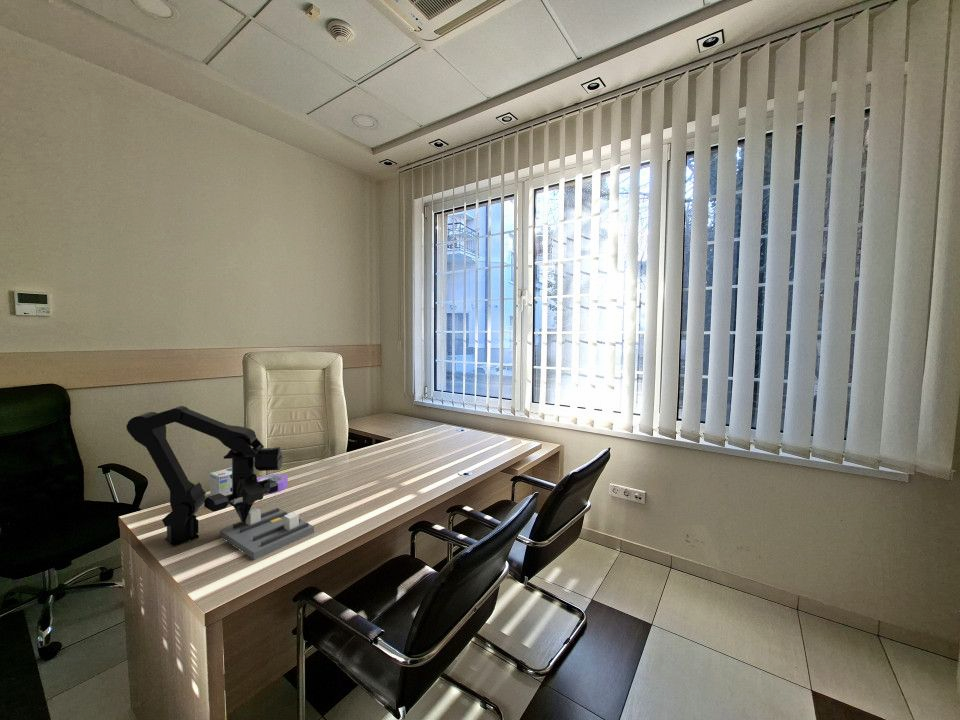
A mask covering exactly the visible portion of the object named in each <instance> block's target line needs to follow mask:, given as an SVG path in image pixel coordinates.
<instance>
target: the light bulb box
mask: <svg viewBox="0 0 960 720" xmlns="http://www.w3.org/2000/svg"><path fill="white" fill-rule="evenodd" d="M231 474H232V466H231V467H228V468H225V469H220V470H217V471H212V472H210V473H209V488H210V489H209V490H210V491H209V493H210V495H209V496H212V495H215V494H219V493H221V494H222V495H224V496H226V495H229V494H232V492H231V491H230V488H232V479H231V478H230V475H231Z"/></svg>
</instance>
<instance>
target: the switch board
mask: <svg viewBox="0 0 960 720" xmlns="http://www.w3.org/2000/svg"><path fill="white" fill-rule="evenodd" d="M287 514H290V513H288V512H287V511H284V510H282V509H280V507H277V508H273V509H270V510H269V511H265V512H263V513H262V512H261V521H259V522H256V523H254V524H251V525H248V524H246V521H244V522H242V521H241V520H240V521H239V522H236V523H233V524H232V525H230V526H227V527H224V528H222V529H219V537H220V536H221V537H222V538H223V539H222V538H221V537H220V538H221V539H222V540H224V539H225V540H227V541H228V542H229V544H230V543H231V544H232V545H231V544H230V545H231V546H233V545H234V546H235V548H236V547H237V548H238V549H237V548H236V549H237V550H239V549H240V550H241V551H240V550H239V551H240V552H242V551H243V552H244V553H243V552H242V553H243V554H245V553H246V554H247V555H246V554H245V555H246V556H248V557H249V558H251V559H252V560H253V561H255V560H257V559H259V558H262V557H264V556H266V555H268V554H271V553H272V552H275V551H276V550H279V549H281V548H283V547H285V546H288V545H289V544H292V543H294V542H296V541H299V540H301V539H303V538H306V537H308V536H309V535H312V534H313V533H315V526H314V525H313V524H310V523H309V522H306V521H304V520H302V519H301V518H299V526H297V527H295V528H293V529H290V530H286V529H284V516H285V515H287ZM225 540H224V541H225ZM227 541H226V542H227ZM228 542H227V543H228ZM234 546H233V547H234Z"/></svg>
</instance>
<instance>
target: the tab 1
mask: <svg viewBox="0 0 960 720" xmlns="http://www.w3.org/2000/svg"><path fill="white" fill-rule="evenodd" d="M261 514H262V509H260V508H258V507H254V508H251V509H250V511H249V514H248V516H247V519H246V524H248V525H251V524H254V523H256V522H259V521H261Z"/></svg>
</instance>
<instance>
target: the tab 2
mask: <svg viewBox="0 0 960 720" xmlns="http://www.w3.org/2000/svg"><path fill="white" fill-rule="evenodd" d="M299 519H300V515H299V514H298V513H296V512H295V511H294V512H291V513H289V514H287V515H285V516H284V529H286V530H290V529H293V528H295V527H297V526H299Z"/></svg>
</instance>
